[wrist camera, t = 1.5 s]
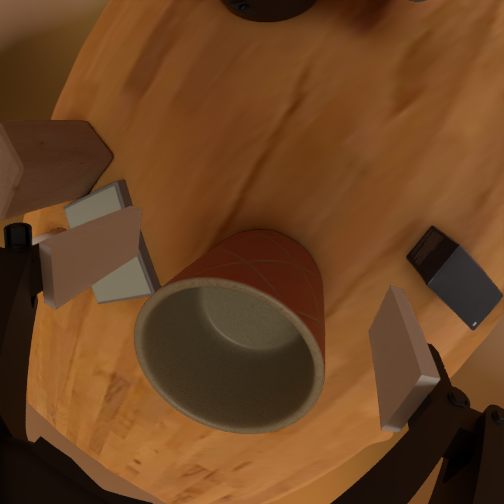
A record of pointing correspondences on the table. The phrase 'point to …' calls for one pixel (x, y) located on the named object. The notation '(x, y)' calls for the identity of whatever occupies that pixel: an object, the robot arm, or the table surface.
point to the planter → (238, 335)
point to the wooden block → (47, 163)
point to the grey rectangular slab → (133, 272)
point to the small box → (455, 277)
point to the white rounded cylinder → (47, 235)
